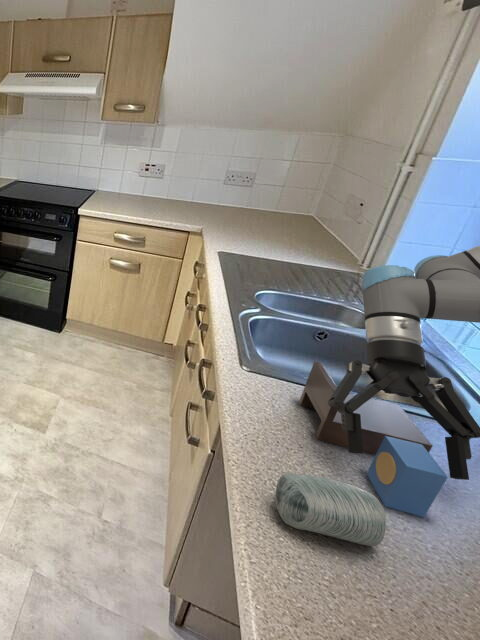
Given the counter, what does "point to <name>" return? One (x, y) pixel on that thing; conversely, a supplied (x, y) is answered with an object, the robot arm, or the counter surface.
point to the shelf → (374, 413)
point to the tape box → (405, 476)
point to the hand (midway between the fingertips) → (405, 465)
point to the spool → (330, 508)
